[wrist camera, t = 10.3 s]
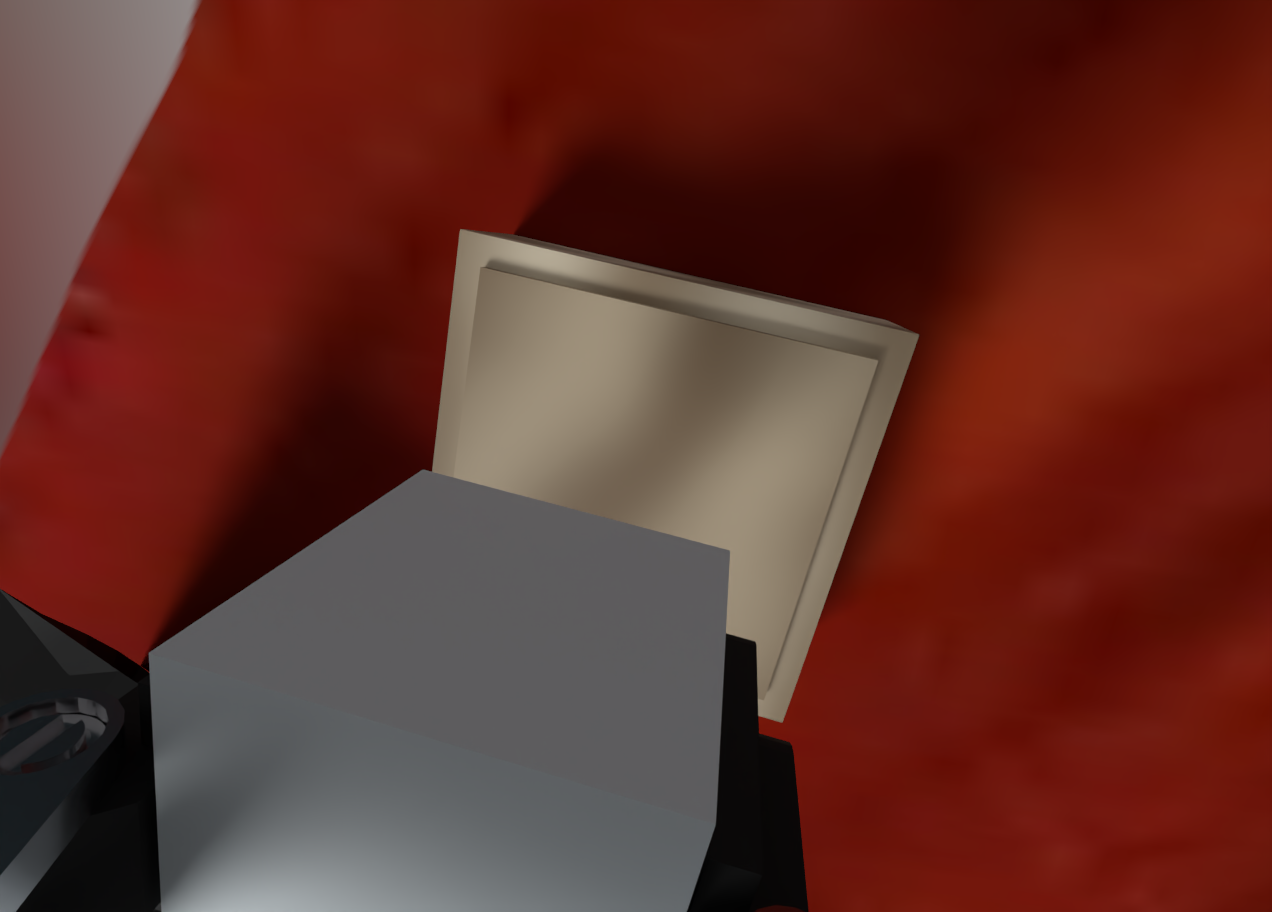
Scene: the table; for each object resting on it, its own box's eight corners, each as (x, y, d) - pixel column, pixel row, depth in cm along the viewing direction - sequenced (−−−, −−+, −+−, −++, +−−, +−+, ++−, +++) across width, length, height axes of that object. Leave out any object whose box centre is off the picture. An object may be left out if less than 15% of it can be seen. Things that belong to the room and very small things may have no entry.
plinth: (886, 320, 20) (923, 335, 16) (776, 647, 23) (782, 729, 19) (513, 234, 21) (455, 228, 17) (466, 560, 25) (410, 620, 20)
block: (730, 550, 10) (716, 824, 5) (659, 796, 11) (598, 1176, 7) (422, 469, 10) (149, 652, 6) (396, 717, 12) (166, 1022, 7)
